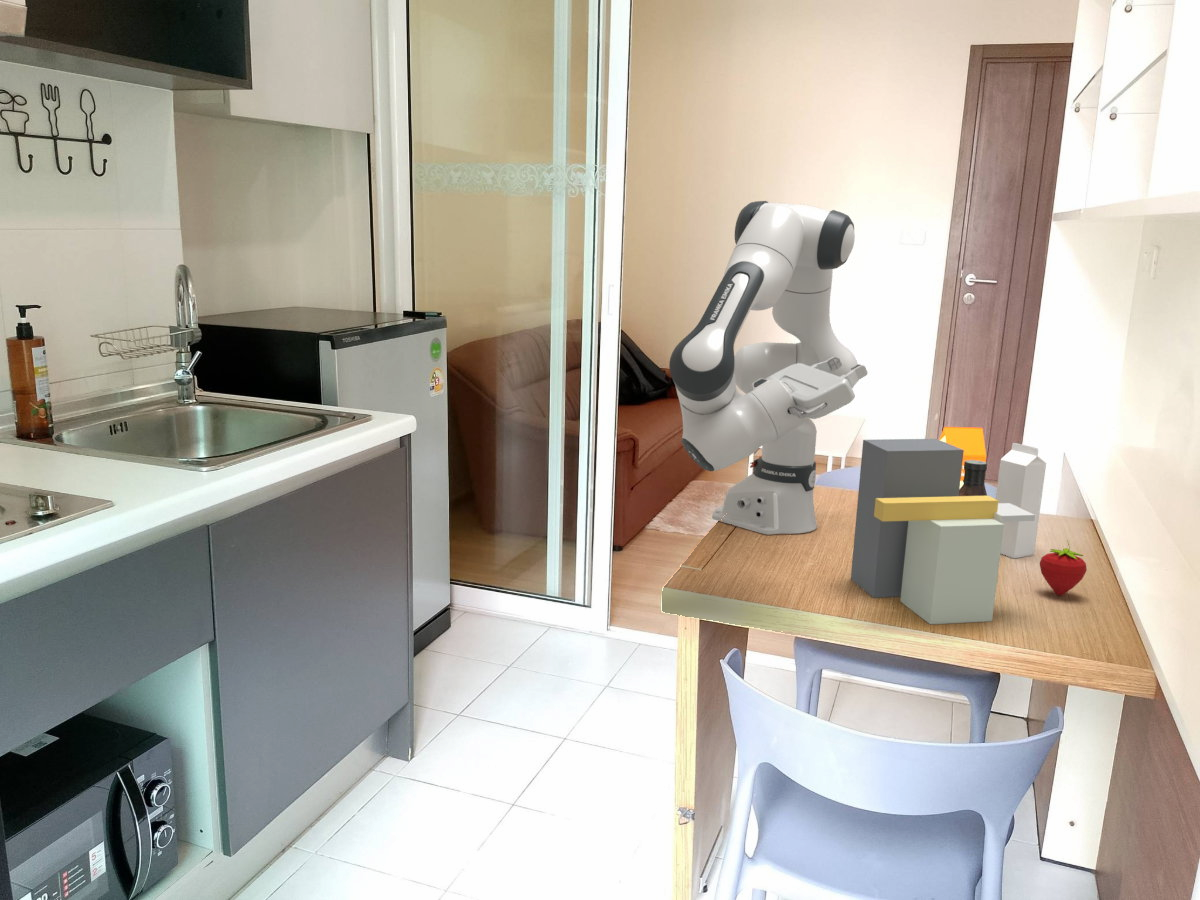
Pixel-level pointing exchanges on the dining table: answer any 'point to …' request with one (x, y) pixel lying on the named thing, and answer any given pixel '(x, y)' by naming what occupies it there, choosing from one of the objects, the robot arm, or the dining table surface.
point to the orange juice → (966, 443)
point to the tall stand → (896, 475)
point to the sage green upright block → (952, 569)
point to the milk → (1021, 497)
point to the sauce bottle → (974, 478)
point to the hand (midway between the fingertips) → (851, 364)
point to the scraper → (948, 509)
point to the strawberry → (1062, 570)
